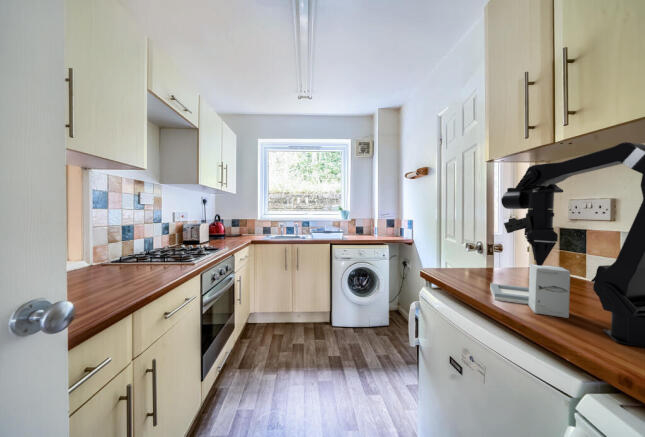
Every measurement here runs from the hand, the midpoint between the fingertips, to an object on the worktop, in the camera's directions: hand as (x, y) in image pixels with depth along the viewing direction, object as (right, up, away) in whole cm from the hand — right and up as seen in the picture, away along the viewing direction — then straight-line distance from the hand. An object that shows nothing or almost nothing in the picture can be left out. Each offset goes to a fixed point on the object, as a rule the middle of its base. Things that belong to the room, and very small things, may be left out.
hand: (537, 262), depth 76 cm
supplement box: (+1, -14, -3) cm, 14 cm away
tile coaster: (+2, -13, +10) cm, 17 cm away
